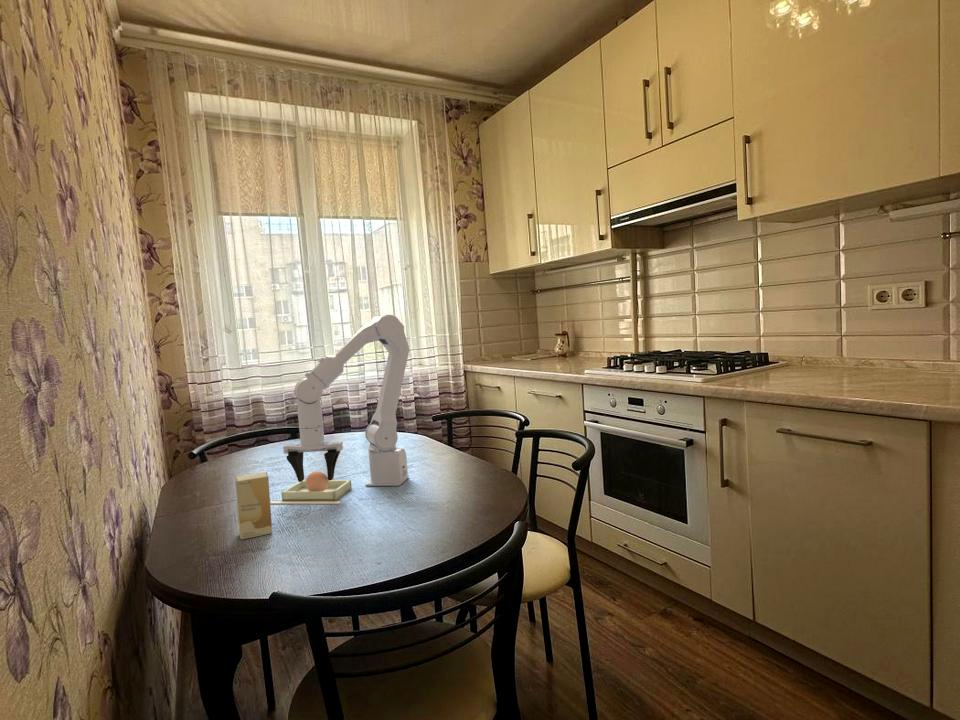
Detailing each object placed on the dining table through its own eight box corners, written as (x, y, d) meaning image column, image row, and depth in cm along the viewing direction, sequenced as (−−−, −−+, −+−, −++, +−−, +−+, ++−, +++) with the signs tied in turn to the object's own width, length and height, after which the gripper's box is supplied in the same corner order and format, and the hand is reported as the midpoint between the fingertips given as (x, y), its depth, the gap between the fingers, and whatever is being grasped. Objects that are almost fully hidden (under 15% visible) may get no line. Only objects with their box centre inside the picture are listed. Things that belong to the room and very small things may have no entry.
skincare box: (240, 540, 111) (234, 481, 110) (239, 533, 114) (233, 476, 113) (274, 533, 113) (268, 475, 113) (271, 526, 117) (266, 470, 116)
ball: (333, 492, 139) (332, 470, 138) (316, 497, 134) (315, 475, 133) (318, 488, 141) (317, 467, 141) (300, 493, 137) (300, 472, 136)
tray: (351, 488, 141) (350, 480, 141) (335, 500, 132) (334, 492, 132) (301, 488, 144) (301, 480, 144) (282, 500, 135) (281, 492, 134)
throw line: (340, 502, 130) (340, 501, 130) (338, 504, 129) (338, 502, 129) (272, 502, 134) (271, 501, 134) (269, 504, 133) (269, 502, 133)
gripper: (344, 421, 140) (349, 474, 141) (289, 424, 141) (294, 476, 142) (335, 427, 133) (340, 482, 134) (277, 430, 134) (282, 484, 135)
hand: (316, 480), depth 137 cm, fingers open, 7 cm apart
